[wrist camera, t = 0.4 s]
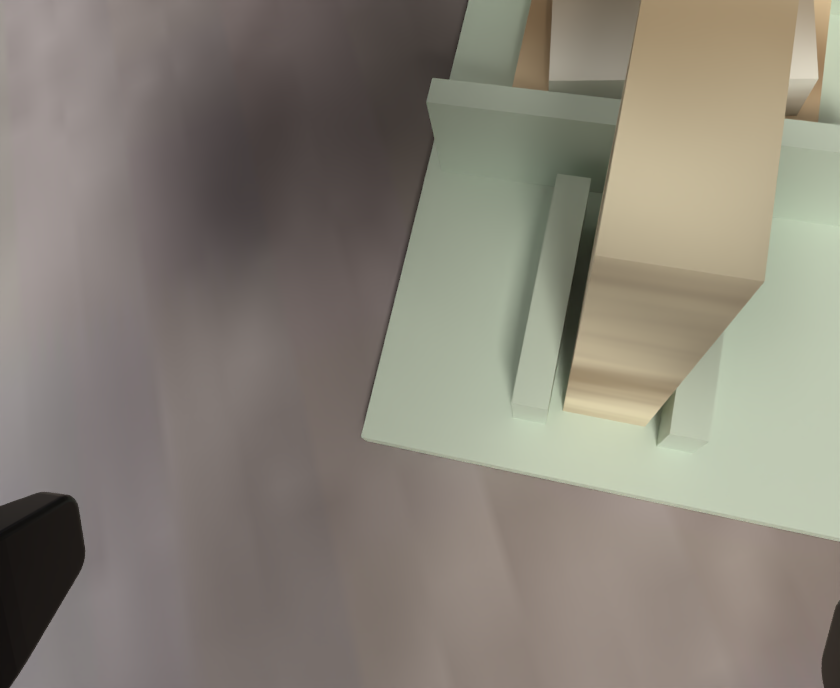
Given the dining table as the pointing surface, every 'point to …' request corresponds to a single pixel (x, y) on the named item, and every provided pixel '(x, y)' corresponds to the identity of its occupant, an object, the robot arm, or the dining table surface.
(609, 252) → the birch board
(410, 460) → the dining table surface
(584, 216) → the offcut rack
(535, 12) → the pine offcut
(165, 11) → the dining table surface
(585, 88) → the white offcut
